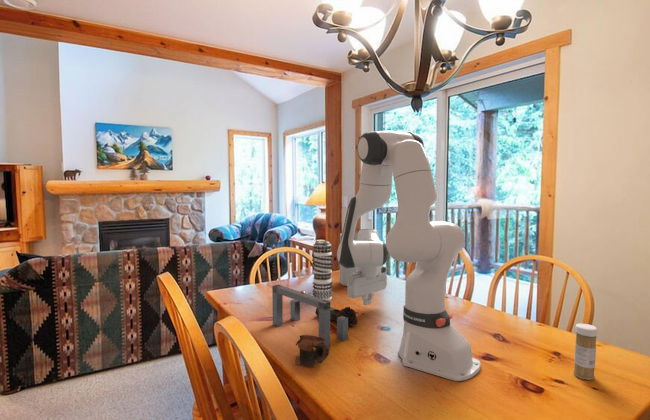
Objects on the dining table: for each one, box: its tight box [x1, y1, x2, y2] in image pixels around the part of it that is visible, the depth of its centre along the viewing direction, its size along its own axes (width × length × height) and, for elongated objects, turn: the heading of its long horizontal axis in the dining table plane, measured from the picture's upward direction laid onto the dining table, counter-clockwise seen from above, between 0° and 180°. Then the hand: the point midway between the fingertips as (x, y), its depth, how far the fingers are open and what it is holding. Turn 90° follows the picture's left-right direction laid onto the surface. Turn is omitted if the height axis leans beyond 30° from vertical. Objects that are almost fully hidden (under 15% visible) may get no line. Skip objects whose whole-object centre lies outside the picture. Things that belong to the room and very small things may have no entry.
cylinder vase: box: [339, 232, 358, 287], centre depth 185 cm, size 12×12×25 cm
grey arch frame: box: [271, 284, 331, 348], centre depth 122 cm, size 26×3×14 cm, turn 44°
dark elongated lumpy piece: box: [315, 306, 358, 327], centre depth 135 cm, size 18×7×6 cm, turn 45°
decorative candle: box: [311, 240, 334, 301], centre depth 161 cm, size 9×9×25 cm
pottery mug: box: [294, 334, 330, 369], centre depth 104 cm, size 12×10×8 cm
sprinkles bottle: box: [573, 323, 598, 381], centre depth 96 cm, size 5×5×14 cm
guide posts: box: [289, 299, 349, 342], centre depth 127 cm, size 26×2×7 cm, turn 44°
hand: (367, 304), depth 145 cm, fingers closed
